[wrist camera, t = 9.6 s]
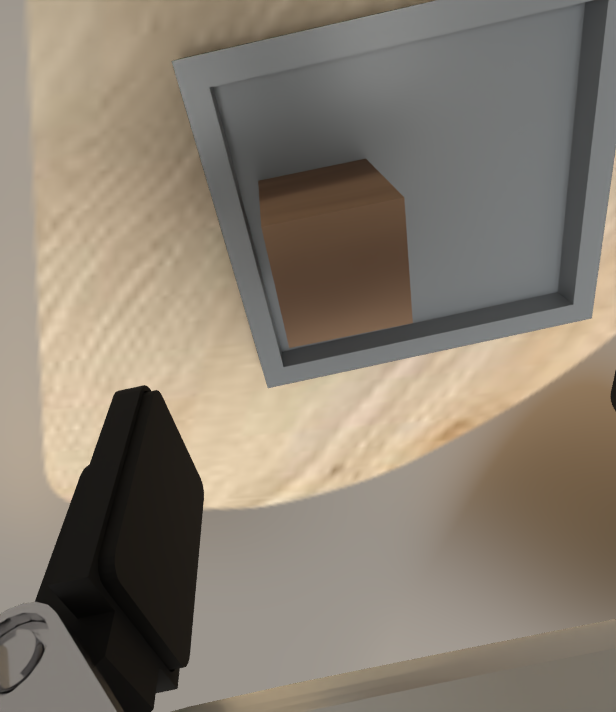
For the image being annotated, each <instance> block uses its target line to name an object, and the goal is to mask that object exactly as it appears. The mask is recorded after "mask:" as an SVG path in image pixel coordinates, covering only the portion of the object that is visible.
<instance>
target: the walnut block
mask: <svg viewBox="0 0 616 712" xmlns="http://www.w3.org/2000/svg"><path fill="white" fill-rule="evenodd" d="M258 186H259V201H260V216H261V228H262V233H263V237H264V241H265V245H266V250H267V254H268V258H269V263H270V267H271V271H272V276H273V280H274V284H275V289H276V293H277V297H278V302H279V306H280V310H281V315H282V319H283V323H284V328H285V332H286V336H287V341H288V345H289V348H292V347H297V346H302V345H307V344H312V343H317V342H322V341H327V340H332V339H337V338H341V337H346V336H351V335H356V334H361V333H366V332H371V331H376V330H381V329H386V328H391V327H396V326H401V325H406V324H411V323H413V318H412V303H411V288H410V273H409V258H408V243H407V229H406V214H405V199H404V197H403V196H402V195H401V194H400V193H399V191H398V190H397V189H396V188H395V187H394V186H393V185H392V184H391V183H390V182H389V181H388V180H387V179H386V178H385V177H384V176H383V175H382V174H381V173H380V172H379V171H378V170H377V169H376V168H375V167H374V166H373V165H372V164H371V163H370V162H369V161H368V160H367V159H361V160H356V161H352V162H347V163H342V164H337V165H332V166H327V167H322V168H318V169H313V170H308V171H303V172H298V173H293V174H289V175H284V176H279V177H274V178H269V179H264V180H259V181H258Z"/></svg>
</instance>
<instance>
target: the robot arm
mask: <svg viewBox="0 0 616 712" xmlns="http://www.w3.org/2000/svg"><path fill="white" fill-rule="evenodd" d="M611 402H612V405H613V407H614V409H615V411H616V372H615V376H614V381H613V385H612V390H611ZM203 502H204V490H203V484H202V481H201V478H200V476H199V474H198V472H197V470H196V468H195V465H194V463H193V461H192V459H191V457H190V455H189V453H188V450H187V448H186V446H185V444H184V442H183V440H182V438H181V435H180V433H179V431H178V429H177V427H176V425H175V423H174V420H173V418H172V416H171V414H170V412H169V410H168V408H167V405H166V403H165V401H164V399H163V397H162V395H161V393H160V392H159V391H157V390H155V391H151V390H150V388H149V387H148V386H145V385H144V386H139V387H134V388H130V389H125V390H120V391H117V392H115V394H114V396H113V399H112V402H111V405H110V408H109V410H108V413H107V416H106V419H105V422H104V425H103V428H102V430H101V433H100V436H99V439H98V442H97V445H96V448H95V450H94V453H93V456H92V459H91V462H90V465H88V466H87V467H86V468H85V469H84V470H83V472H82V474H81V476H80V478H79V481H78V484H77V486H76V489H75V492H74V495H73V498H72V500H71V503H70V506H69V509H68V511H67V514H66V517H65V520H64V523H63V525H62V528H61V531H60V534H59V536H58V539H57V542H56V545H55V548H54V550H53V553H52V556H51V559H50V561H49V564H48V567H47V570H46V572H45V575H44V578H43V581H42V584H41V586H40V589H39V592H38V595H37V597H36V600H35V602H32V603H23V604H20V605H18V606H15V607H13V608H10V609H8V610H6V611H4V612H3V613H1V614H0V712H151V711H152V710H153V708H154V701H155V694H156V693H159V692H164V691H169V690H174V689H177V688H178V679H179V669H180V668H183V667H186V666H187V664H188V661H189V656H190V647H191V635H192V625H193V613H194V602H195V591H196V580H197V569H198V557H199V546H200V535H201V524H202V513H203ZM172 712H616V619H613V620H608V621H603V622H598V623H593V624H588V625H583V626H578V627H573V628H568V629H563V630H557V631H552V632H547V633H542V634H537V635H533V636H527V637H522V638H517V639H513V640H507V641H502V642H497V643H492V644H487V645H482V646H477V647H472V648H467V649H462V650H457V651H452V652H447V653H442V654H437V655H432V656H428V657H422V658H417V659H412V660H407V661H402V662H397V663H393V664H388V665H383V666H378V667H373V668H368V669H363V670H358V671H353V672H348V673H343V674H339V675H334V676H328V677H324V678H319V679H314V680H309V681H304V682H299V683H294V684H290V685H285V686H280V687H276V688H271V689H267V690H263V691H258V692H253V693H249V694H245V695H240V696H235V697H231V698H227V699H222V700H217V701H213V702H208V703H204V704H199V705H195V706H191V707H187V708H183V709H179V710H176V711H172Z"/></svg>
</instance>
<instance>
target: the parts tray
mask: <svg viewBox="0 0 616 712" xmlns="http://www.w3.org/2000/svg"><path fill="white" fill-rule="evenodd" d="M172 64H173V68H174V71H175V75H176V78H177V81H178V85H179V88H180V92H181V95H182V98H183V102H184V105H185V109H186V112H187V115H188V119H189V122H190V125H191V129H192V132H193V136H194V139H195V142H196V146H197V149H198V153H199V156H200V159H201V163H202V166H203V170H204V173H205V176H206V180H207V183H208V187H209V190H210V193H211V197H212V200H213V203H214V207H215V210H216V214H217V217H218V220H219V224H220V227H221V231H222V234H223V237H224V241H225V244H226V248H227V251H228V254H229V258H230V261H231V265H232V268H233V271H234V275H235V278H236V281H237V285H238V288H239V292H240V295H241V298H242V302H243V305H244V309H245V312H246V315H247V319H248V322H249V326H250V329H251V332H252V336H253V339H254V343H255V346H256V349H257V353H258V356H259V360H260V363H261V366H262V370H263V373H264V376H265V380H266V383H267V387H268V388H271V387H276V386H280V385H285V384H290V383H294V382H299V381H303V380H308V379H313V378H317V377H322V376H327V375H331V374H336V373H341V372H345V371H350V370H354V369H359V368H364V367H368V366H373V365H378V364H382V363H387V362H392V361H396V360H401V359H406V358H410V357H415V356H419V355H424V354H429V353H433V352H438V351H443V350H447V349H452V348H457V347H461V346H466V345H470V344H475V343H480V342H484V341H489V340H494V339H498V338H503V337H508V336H512V335H517V334H521V333H526V332H531V331H535V330H540V329H545V328H549V327H554V326H559V325H563V324H568V323H572V322H577V321H582V320H586V319H591V318H592V312H593V305H594V298H595V291H596V284H597V277H598V270H599V263H600V256H601V249H602V241H603V234H604V227H605V220H606V213H607V206H608V199H609V192H610V185H611V178H612V171H613V164H614V156H615V149H616V0H435V1H431V2H426V3H422V4H418V5H413V6H409V7H404V8H400V9H396V10H391V11H387V12H383V13H378V14H374V15H370V16H365V17H361V18H356V19H352V20H348V21H343V22H339V23H335V24H330V25H326V26H321V27H317V28H313V29H308V30H304V31H300V32H295V33H291V34H286V35H282V36H278V37H273V38H269V39H265V40H260V41H256V42H252V43H247V44H243V45H238V46H234V47H230V48H225V49H221V50H217V51H212V52H208V53H203V54H199V55H195V56H190V57H186V58H182V59H178V60H174V61H172ZM361 159H367V160H368V161H369V162H370V163H371V164H372V165H373V166H374V167H375V168H376V169H377V170H378V171H379V172H380V173H381V174H382V175H383V176H384V177H385V178H386V179H387V180H388V181H389V182H390V183H391V184H392V185H393V186H394V187H395V188H396V189H397V190H398V191H399V193H400V194H401V195H402V196H403V197H404V199H405V214H406V229H407V243H408V258H409V273H410V288H411V303H412V318H413V323H411V324H406V325H401V326H396V327H391V328H386V329H381V330H376V331H371V332H366V333H361V334H356V335H351V336H346V337H341V338H337V339H332V340H327V341H322V342H317V343H312V344H307V345H302V346H297V347H292V348H289V345H288V341H287V336H286V332H285V328H284V323H283V319H282V315H281V310H280V306H279V302H278V297H277V293H276V289H275V284H274V280H273V276H272V271H271V267H270V263H269V258H268V254H267V250H266V245H265V241H264V237H263V233H262V228H261V216H260V201H259V186H258V181H259V180H264V179H269V178H274V177H279V176H284V175H289V174H293V173H298V172H303V171H308V170H313V169H318V168H322V167H327V166H332V165H337V164H342V163H347V162H352V161H356V160H361Z"/></svg>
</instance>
